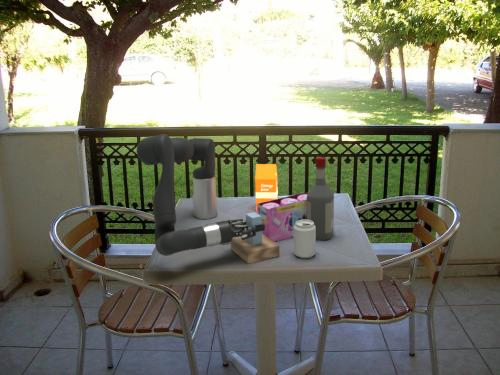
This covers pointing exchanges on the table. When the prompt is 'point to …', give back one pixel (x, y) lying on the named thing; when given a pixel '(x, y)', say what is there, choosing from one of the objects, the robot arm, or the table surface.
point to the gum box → (282, 215)
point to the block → (254, 220)
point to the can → (304, 238)
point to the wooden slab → (255, 249)
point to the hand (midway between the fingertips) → (260, 224)
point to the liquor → (321, 203)
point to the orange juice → (266, 183)
